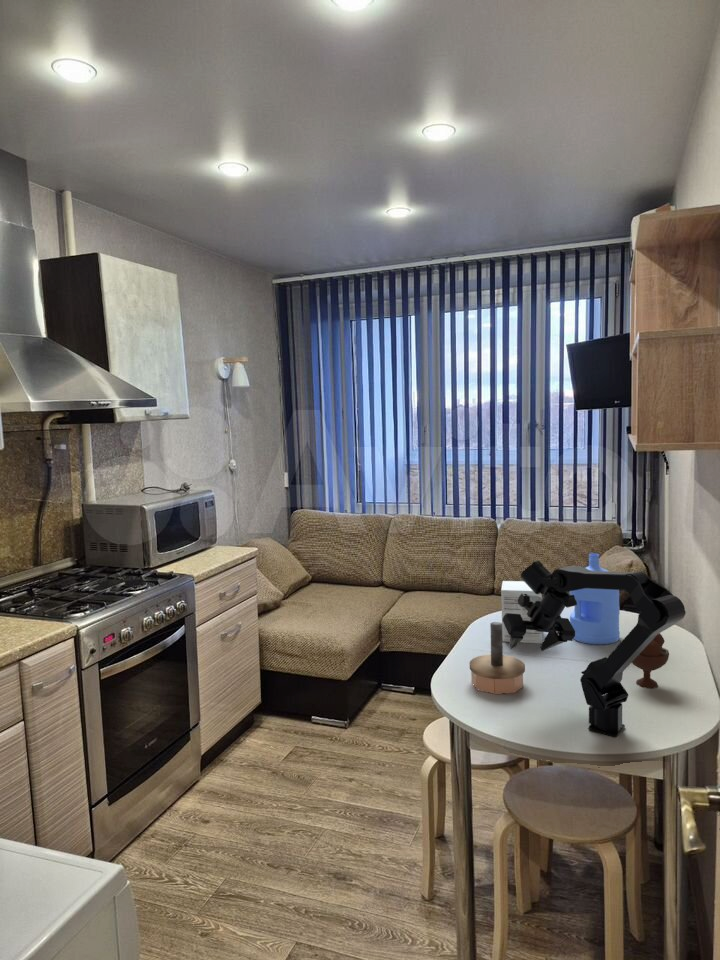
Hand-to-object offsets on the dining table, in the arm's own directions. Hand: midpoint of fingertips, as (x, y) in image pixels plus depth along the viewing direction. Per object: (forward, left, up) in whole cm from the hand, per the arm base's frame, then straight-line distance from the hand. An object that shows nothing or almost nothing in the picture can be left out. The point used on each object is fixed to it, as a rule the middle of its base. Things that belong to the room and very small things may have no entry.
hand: (526, 648), depth 171 cm
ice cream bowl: (-23, -25, -13) cm, 36 cm away
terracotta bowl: (+10, -2, -12) cm, 16 cm away
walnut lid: (+9, -2, -8) cm, 12 cm away
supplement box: (+22, -43, -13) cm, 49 cm away
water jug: (+2, -55, -13) cm, 56 cm away
